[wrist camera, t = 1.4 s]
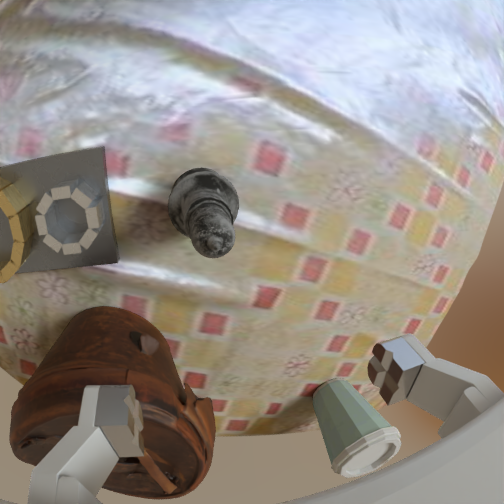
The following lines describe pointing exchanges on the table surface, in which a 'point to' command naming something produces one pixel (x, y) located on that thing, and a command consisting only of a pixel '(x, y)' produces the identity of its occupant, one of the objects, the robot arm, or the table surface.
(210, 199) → the stone chess piece
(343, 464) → the disposable coffee cup
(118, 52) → the table surface
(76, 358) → the case
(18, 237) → the socket plate
